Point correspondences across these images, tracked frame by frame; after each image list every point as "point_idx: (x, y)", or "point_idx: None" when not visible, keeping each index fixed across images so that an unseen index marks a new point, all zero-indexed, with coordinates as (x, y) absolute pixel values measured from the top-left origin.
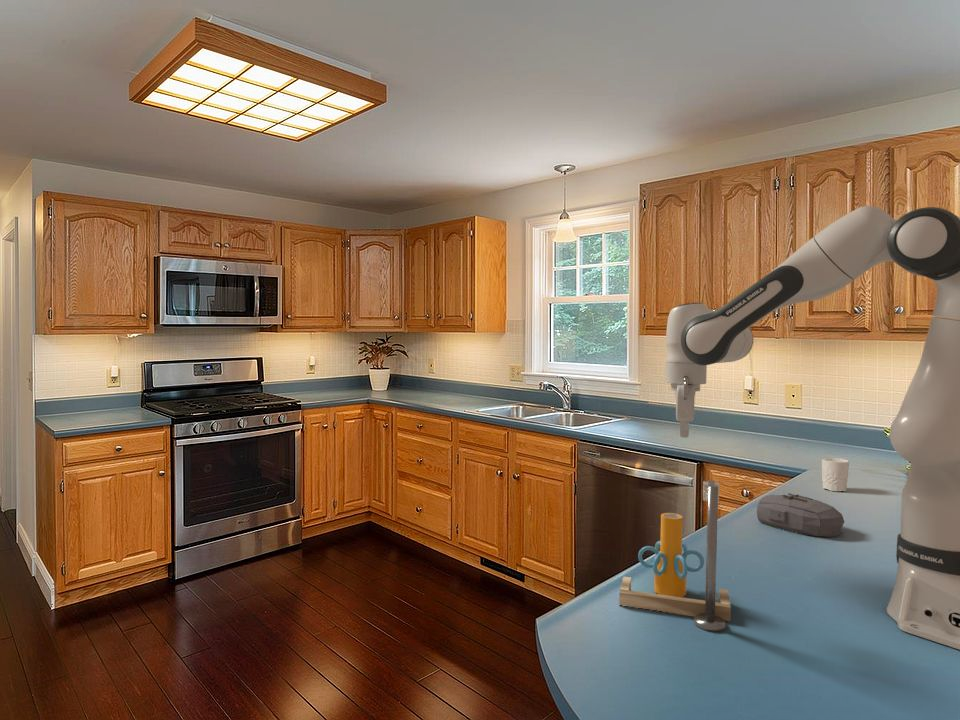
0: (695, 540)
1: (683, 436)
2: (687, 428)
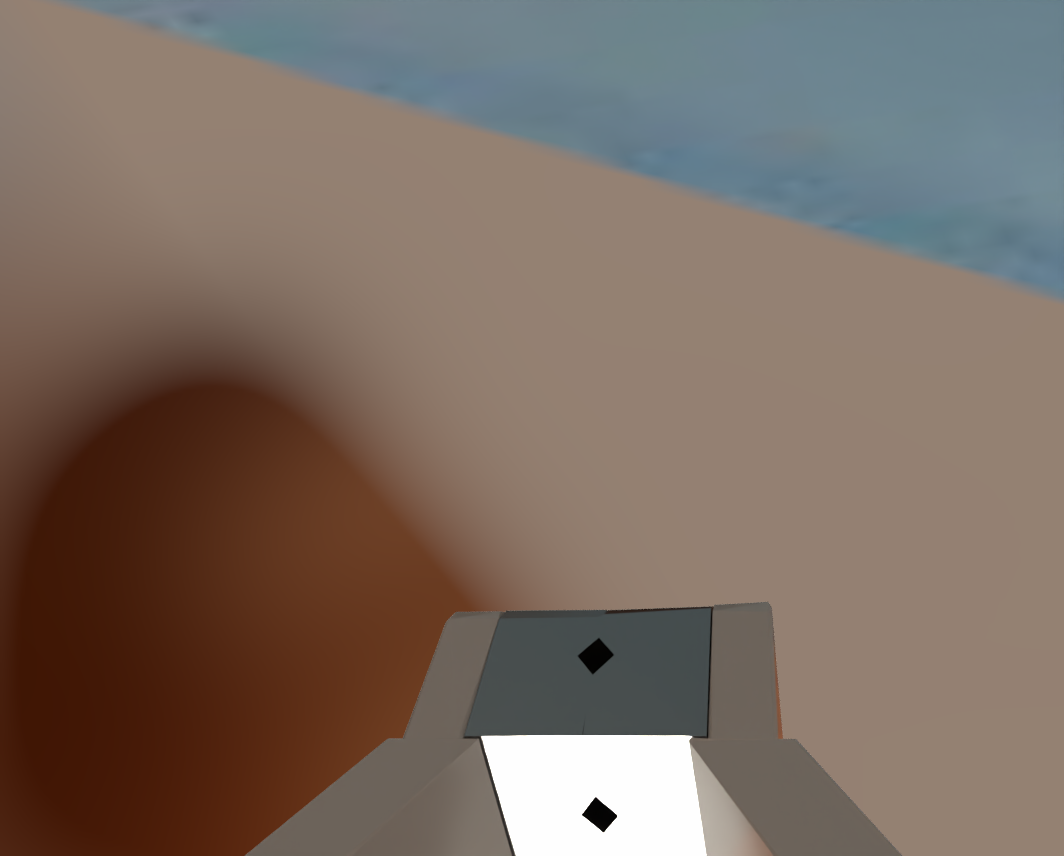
0: (332, 35)
1: (778, 688)
2: (824, 798)
